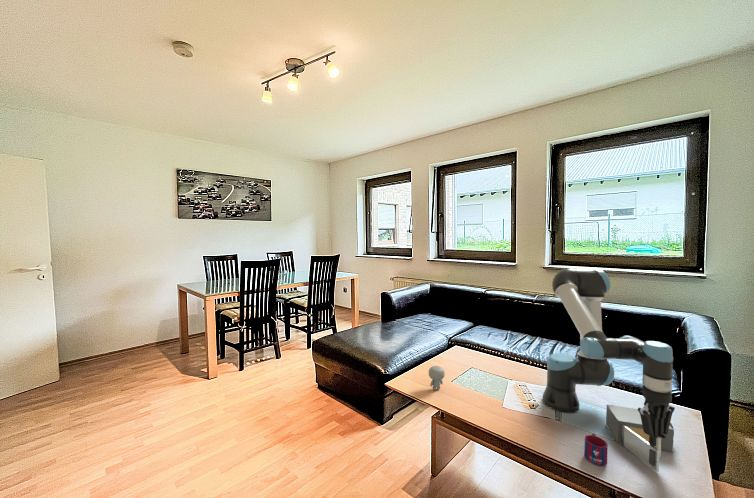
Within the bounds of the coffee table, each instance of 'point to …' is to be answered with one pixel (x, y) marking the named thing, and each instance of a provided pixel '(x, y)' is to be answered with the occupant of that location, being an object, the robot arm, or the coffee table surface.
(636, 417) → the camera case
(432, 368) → the figurine
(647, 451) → the side door
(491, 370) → the coffee table surface
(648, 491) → the coffee table surface
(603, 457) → the mug
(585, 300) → the robot arm
